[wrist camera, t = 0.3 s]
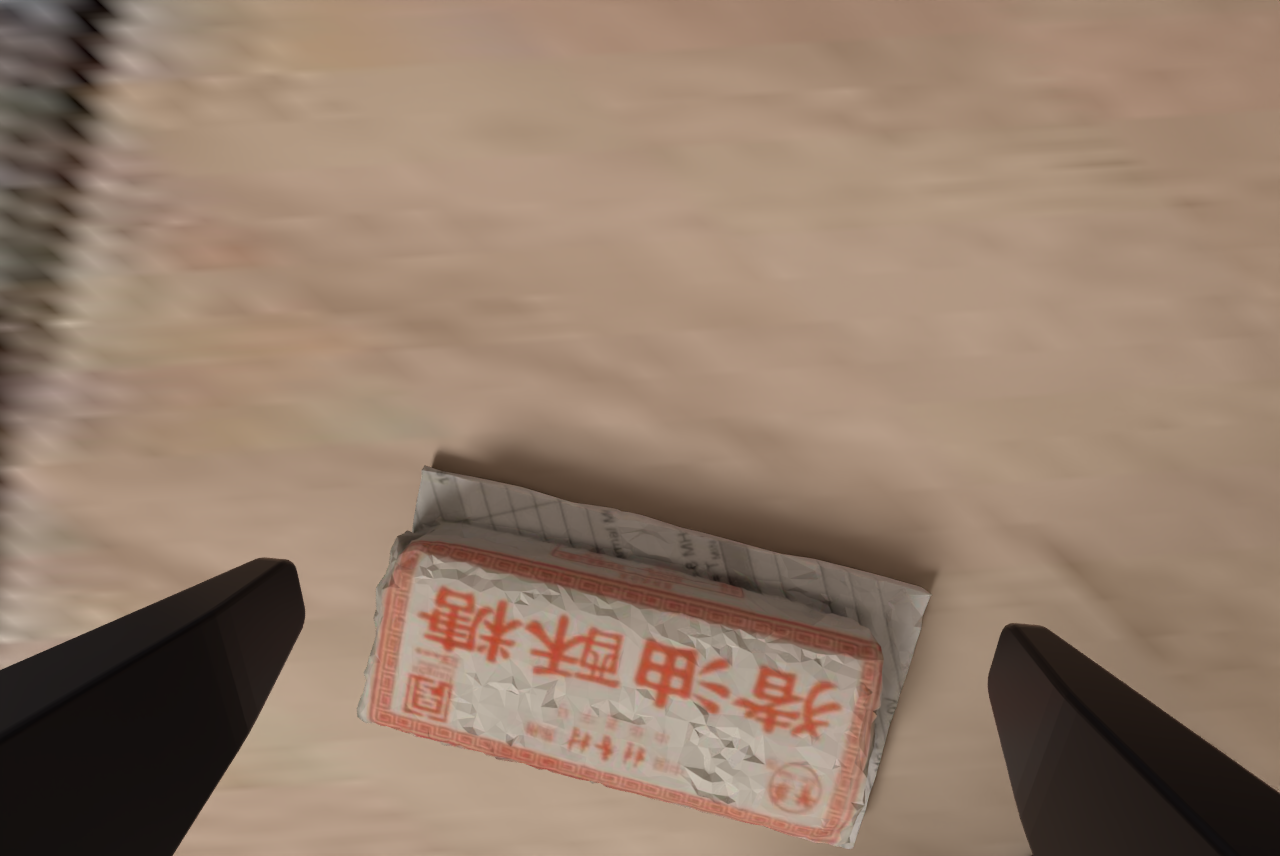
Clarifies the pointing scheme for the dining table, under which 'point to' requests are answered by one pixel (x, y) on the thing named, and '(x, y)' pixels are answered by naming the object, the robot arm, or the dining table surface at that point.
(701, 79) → the dining table surface
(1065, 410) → the dining table surface
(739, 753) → the packaged product
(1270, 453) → the dining table surface
